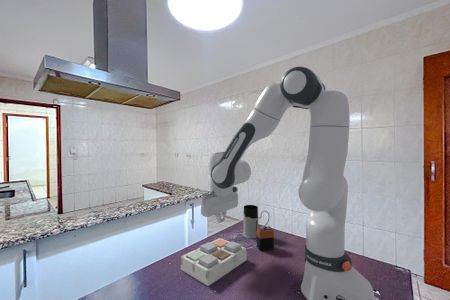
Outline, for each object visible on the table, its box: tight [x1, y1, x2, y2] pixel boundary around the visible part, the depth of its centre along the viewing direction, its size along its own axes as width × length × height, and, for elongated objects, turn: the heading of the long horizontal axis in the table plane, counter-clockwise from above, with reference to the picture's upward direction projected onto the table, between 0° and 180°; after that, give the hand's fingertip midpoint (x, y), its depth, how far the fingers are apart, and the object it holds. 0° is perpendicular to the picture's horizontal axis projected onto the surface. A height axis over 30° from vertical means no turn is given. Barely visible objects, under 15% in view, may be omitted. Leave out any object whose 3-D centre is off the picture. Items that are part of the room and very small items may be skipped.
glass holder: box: [242, 204, 270, 239], centre depth 113 cm, size 9×14×15 cm, turn 67°
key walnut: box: [212, 250, 230, 261], centre depth 83 cm, size 5×5×3 cm
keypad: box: [180, 237, 248, 287], centre depth 86 cm, size 15×22×6 cm
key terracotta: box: [213, 238, 228, 248], centre depth 93 cm, size 5×5×3 cm
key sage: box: [186, 251, 205, 262], centre depth 83 cm, size 5×5×3 cm
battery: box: [256, 225, 275, 252], centre depth 99 cm, size 4×7×10 cm, turn 101°
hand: (221, 222), depth 93 cm, fingers closed
